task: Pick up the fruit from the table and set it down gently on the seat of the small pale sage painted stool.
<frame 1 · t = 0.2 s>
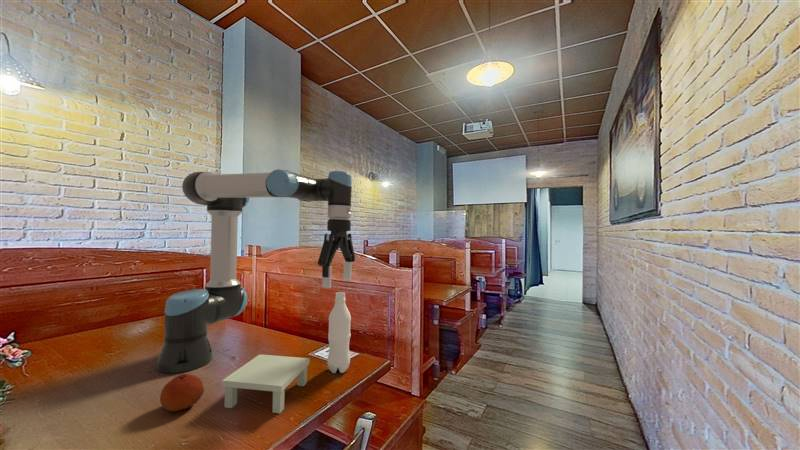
hand: (337, 284, 98), 28 cm above the table, fingers open, 13 cm apart
water bottle: (338, 370, 97), on the table
fruit: (182, 407, 76), on the table
stool: (268, 394, 82), on the table
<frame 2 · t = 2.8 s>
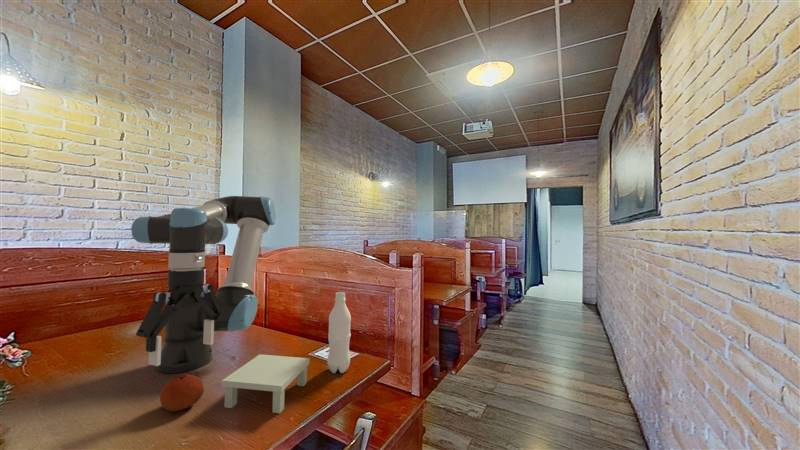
hand: (183, 353, 76), 14 cm above the table, fingers open, 13 cm apart
nothing on the table moved.
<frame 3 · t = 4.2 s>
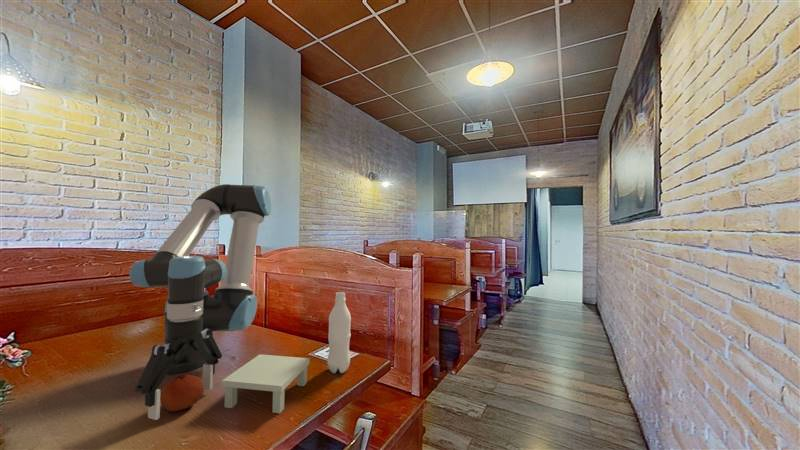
hand: (182, 402, 76), 1 cm above the table, fingers open, 13 cm apart
nothing on the table moved.
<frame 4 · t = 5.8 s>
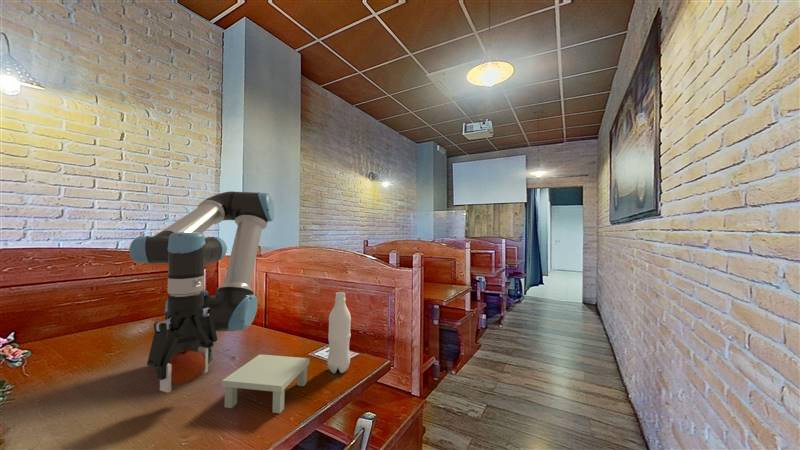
hand: (185, 380, 77), 6 cm above the table, fingers closed on fruit, 9 cm apart
fruit: (185, 382, 77), point 6 cm above the table, touching gripper
everything else where it was.
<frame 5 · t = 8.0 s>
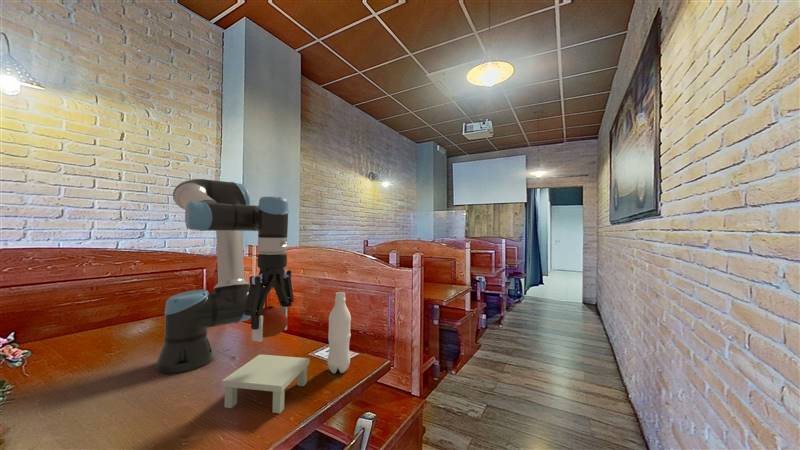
hand: (270, 334, 83), 16 cm above the table, fingers closed on fruit, 9 cm apart
fruit: (270, 336, 83), point 16 cm above the table, touching gripper
everything else where it was.
when the fingers open (8 cm above the table, at t = 10.2 s): fruit stays where it is, resting on stool.
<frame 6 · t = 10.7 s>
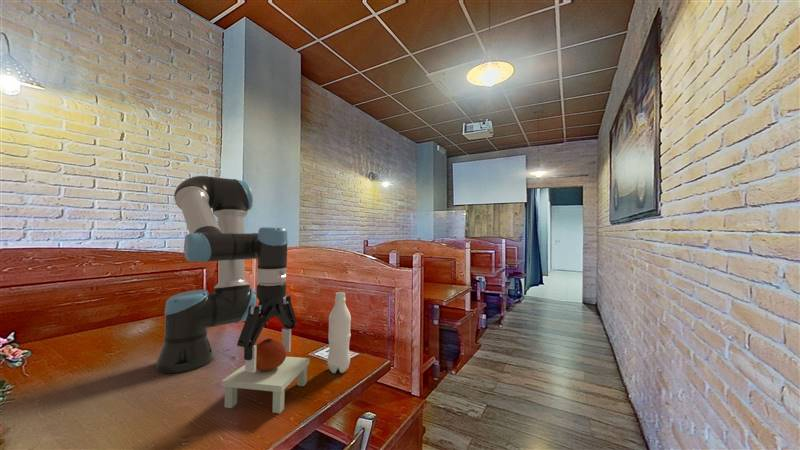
hand: (269, 360, 83), 9 cm above the table, fingers open, 13 cm apart
fruit: (268, 369, 82), point 7 cm above the table, touching stool
everything else where it was.
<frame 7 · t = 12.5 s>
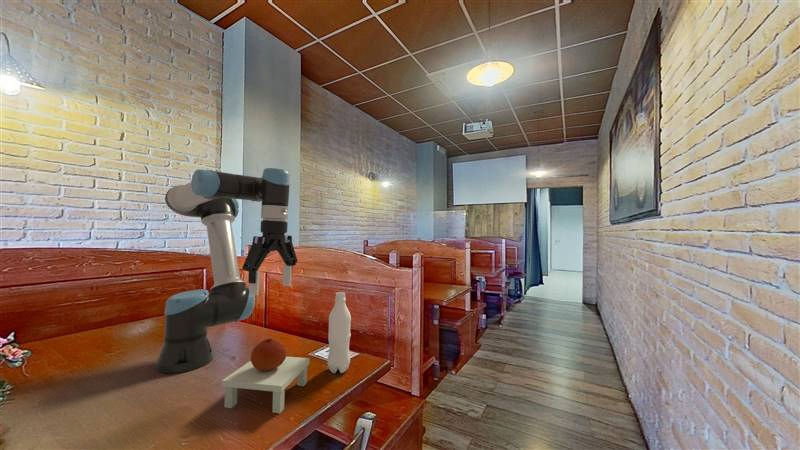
hand: (271, 289, 91), 27 cm above the table, fingers open, 13 cm apart
nothing on the table moved.
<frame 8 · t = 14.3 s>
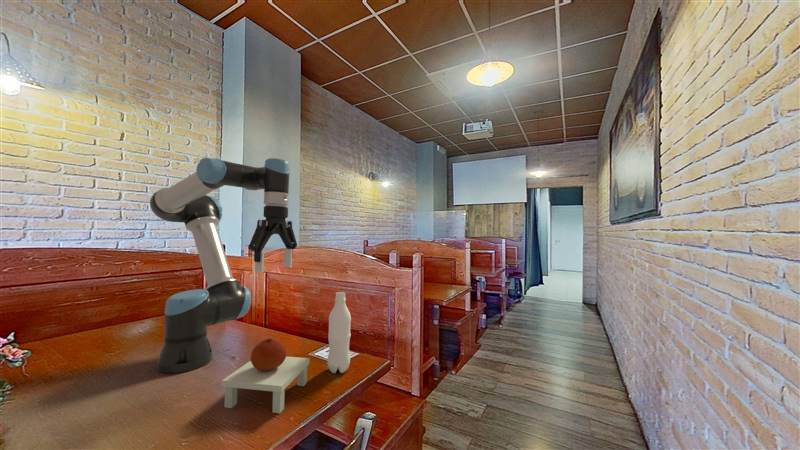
hand: (274, 269, 99), 32 cm above the table, fingers open, 13 cm apart
nothing on the table moved.
at the end: fruit inside the target area on the stool (0.1 cm from its centre), point 6.8 cm above the stool's base; the gripper is holding nothing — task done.
